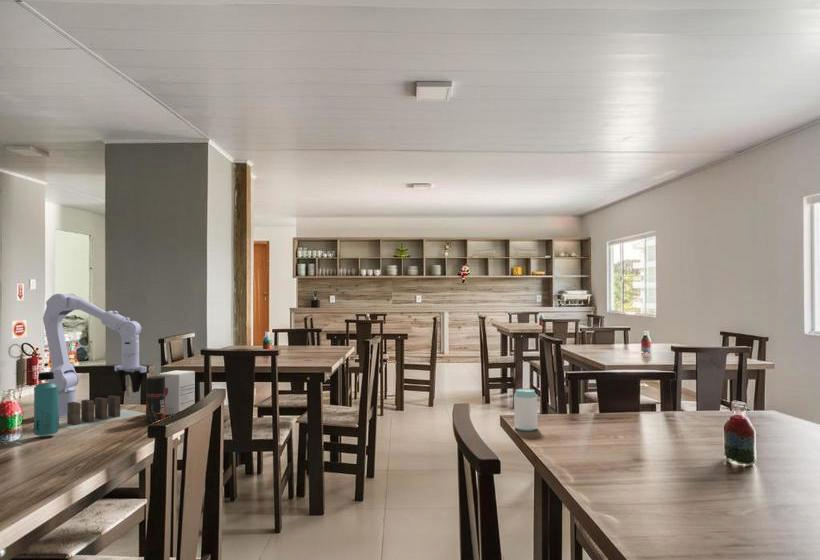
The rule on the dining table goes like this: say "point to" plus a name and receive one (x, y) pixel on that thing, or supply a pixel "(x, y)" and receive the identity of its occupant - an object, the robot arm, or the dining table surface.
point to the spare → (129, 387)
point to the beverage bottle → (46, 406)
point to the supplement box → (178, 390)
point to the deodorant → (155, 398)
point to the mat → (123, 415)
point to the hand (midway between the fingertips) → (130, 391)
